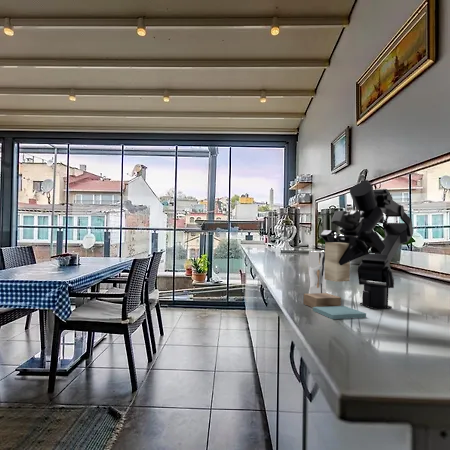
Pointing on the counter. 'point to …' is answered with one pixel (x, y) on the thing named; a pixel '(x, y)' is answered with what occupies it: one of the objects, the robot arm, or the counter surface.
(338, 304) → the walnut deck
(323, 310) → the teal mat
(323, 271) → the beer glass
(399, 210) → the robot arm
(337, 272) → the maple block
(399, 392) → the counter surface
